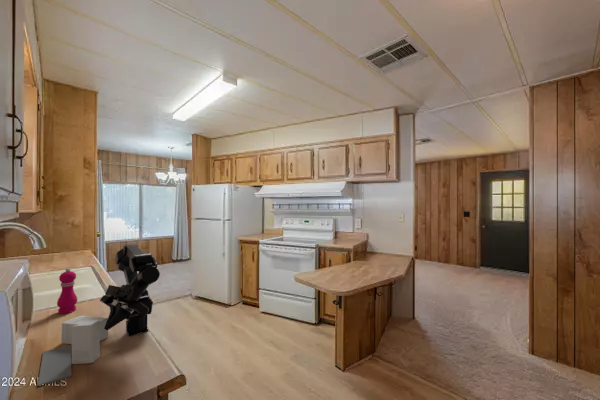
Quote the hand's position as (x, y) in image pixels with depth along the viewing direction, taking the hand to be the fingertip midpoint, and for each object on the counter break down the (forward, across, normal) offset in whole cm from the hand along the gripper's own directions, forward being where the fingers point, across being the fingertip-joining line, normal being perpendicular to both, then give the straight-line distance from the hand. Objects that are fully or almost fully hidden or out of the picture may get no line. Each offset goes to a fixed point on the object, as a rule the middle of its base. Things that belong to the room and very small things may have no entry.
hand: (105, 329), depth 89 cm
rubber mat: (+12, -9, 0) cm, 15 cm away
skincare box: (+9, -3, +3) cm, 10 cm away
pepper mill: (-5, -56, +18) cm, 59 cm away
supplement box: (+2, -24, +5) cm, 25 cm away
